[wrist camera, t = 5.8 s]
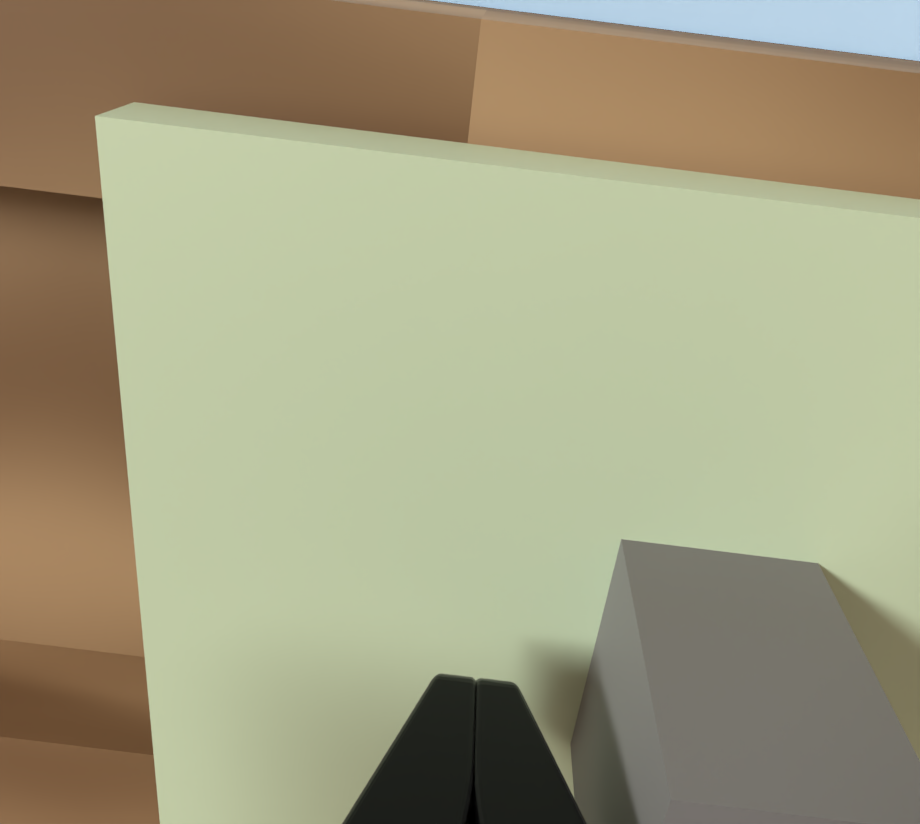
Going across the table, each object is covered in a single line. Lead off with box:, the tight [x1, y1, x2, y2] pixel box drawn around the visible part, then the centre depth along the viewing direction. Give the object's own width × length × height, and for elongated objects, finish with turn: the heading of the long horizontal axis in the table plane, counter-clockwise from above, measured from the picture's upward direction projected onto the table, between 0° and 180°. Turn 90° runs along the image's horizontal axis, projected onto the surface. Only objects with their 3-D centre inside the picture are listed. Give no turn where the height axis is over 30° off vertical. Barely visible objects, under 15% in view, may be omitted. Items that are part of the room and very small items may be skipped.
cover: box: [95, 102, 920, 824], centre depth 8 cm, size 10×12×4 cm
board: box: [0, 0, 920, 824], centre depth 11 cm, size 12×18×2 cm, turn 84°
